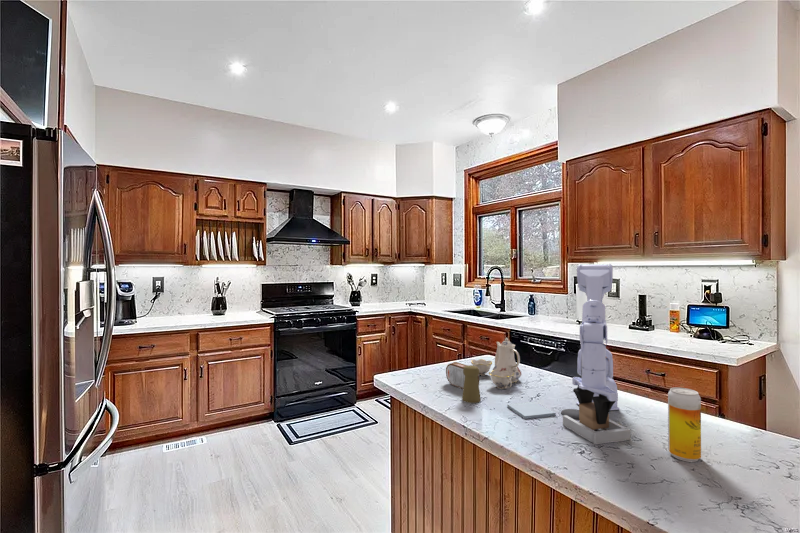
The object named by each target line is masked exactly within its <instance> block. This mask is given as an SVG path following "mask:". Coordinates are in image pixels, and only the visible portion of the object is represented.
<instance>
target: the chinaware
mask: <svg viewBox="0 0 800 533" xmlns="http://www.w3.org/2000/svg"><path fill="white" fill-rule="evenodd" d="M496 347H497V348H496V352H495V356H494V367H493V368H492V370H491V372H490V369H491V366H492V364H493V361H492V360H485V359H482V358H480V359H478V360H476V359H472V360H470V361H471V365H472V366H476V367H478V369H479V375H478V376H480V375H481V377H482V376H483V377H484V376H486V375H487V373H488V375H490V377H491V378H490V379H491V381H492V382H493V384H494V385H495V386H496V387H497V388H496V389H501V390H504V389H506V390H507V389H510V388H511V387H512V385H513V383H514V382H515V383H518V382H519V378H521V377H522V371H521V370H520V367H519V365H520V363H521V356H520V353H519V352H518V351H517V349H515V347H516V344H514V343H512V342H511V341H510V340H509V338H508V337H506V338H505V339H504V340H503V341H502V342H500V341H496ZM515 354H516V359H517V360H516V359H515ZM516 361H517V362H516ZM517 381H518V382H517Z"/></svg>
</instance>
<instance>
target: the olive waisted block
mask: <svg viewBox="0 0 800 533" xmlns="http://www.w3.org/2000/svg"><path fill="white" fill-rule="evenodd" d="M463 373H464V375H465V380H464V388H463V389H462V397H461V400H462V401H463V402H465V403H469V404H477V403H480V402H481V401H482V399H481V392H480V382H479V383H478V376H479V369H478V367H476V366H473V365H472V364H471V365H468V366H465V367H464V369H463Z"/></svg>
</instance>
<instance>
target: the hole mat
mask: <svg viewBox="0 0 800 533" xmlns="http://www.w3.org/2000/svg"><path fill="white" fill-rule="evenodd" d="M560 414H561V416H562V417H563V416H564V415H567V416H569V417H571V418H572V419H574V420H576V421H579V409H577V408H576V409H575V408H567V409H566V408H564V409H563V410H561V412H560Z"/></svg>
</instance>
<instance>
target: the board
mask: <svg viewBox="0 0 800 533" xmlns="http://www.w3.org/2000/svg"><path fill="white" fill-rule="evenodd" d="M506 406H507V408H508V409H510V410H511V411H512V412H514V413H516V414H517V415H518V416H520V417H521V418H523V419H525V420H528V419H538V418H545V417H553V416H554V417H556V416H557V414H556V413H557V412H555V411H553V410H551V409H550V408H548V407H546V406H545V405H542V403H540V402H538V401H528V402H518V403H517V402H516V403H507V405H506Z"/></svg>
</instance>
